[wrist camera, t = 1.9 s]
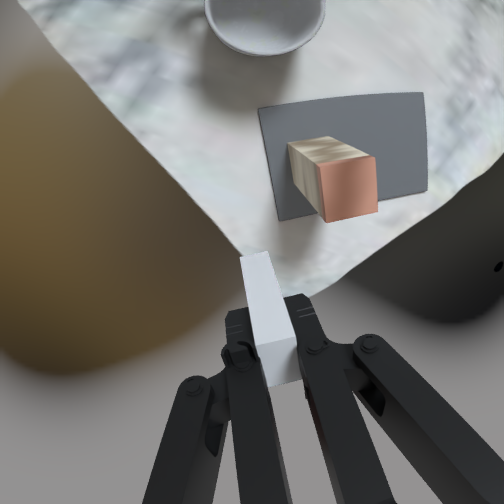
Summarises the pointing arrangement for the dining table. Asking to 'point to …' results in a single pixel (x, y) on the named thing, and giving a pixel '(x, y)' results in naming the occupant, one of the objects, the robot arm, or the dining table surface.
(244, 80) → the dining table surface
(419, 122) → the mat
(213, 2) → the teacup
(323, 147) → the block
